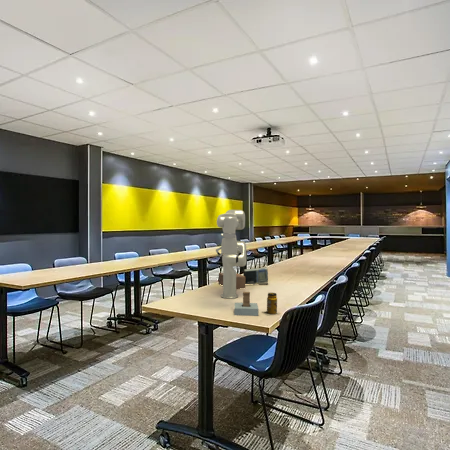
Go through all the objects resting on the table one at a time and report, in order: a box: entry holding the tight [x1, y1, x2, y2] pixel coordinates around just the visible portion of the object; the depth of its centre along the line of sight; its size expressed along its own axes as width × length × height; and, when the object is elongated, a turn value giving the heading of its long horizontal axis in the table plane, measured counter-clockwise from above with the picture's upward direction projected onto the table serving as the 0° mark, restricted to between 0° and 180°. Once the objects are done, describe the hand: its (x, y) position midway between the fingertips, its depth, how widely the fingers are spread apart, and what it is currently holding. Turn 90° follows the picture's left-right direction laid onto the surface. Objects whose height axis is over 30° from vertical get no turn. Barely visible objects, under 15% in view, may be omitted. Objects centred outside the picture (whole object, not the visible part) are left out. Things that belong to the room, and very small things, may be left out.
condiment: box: [261, 292, 280, 316], centre depth 202 cm, size 7×8×12 cm
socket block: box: [233, 302, 259, 317], centre depth 204 cm, size 14×14×4 cm
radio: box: [242, 266, 269, 285], centre depth 295 cm, size 23×9×15 cm, turn 96°
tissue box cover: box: [218, 272, 246, 290], centre depth 285 cm, size 26×14×10 cm, turn 19°
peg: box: [242, 291, 251, 307], centre depth 204 cm, size 4×4×12 cm
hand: (229, 262), depth 215 cm, fingers open, 9 cm apart
